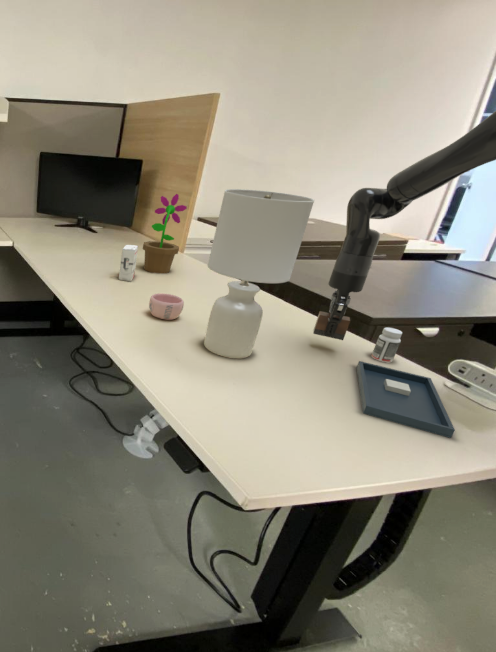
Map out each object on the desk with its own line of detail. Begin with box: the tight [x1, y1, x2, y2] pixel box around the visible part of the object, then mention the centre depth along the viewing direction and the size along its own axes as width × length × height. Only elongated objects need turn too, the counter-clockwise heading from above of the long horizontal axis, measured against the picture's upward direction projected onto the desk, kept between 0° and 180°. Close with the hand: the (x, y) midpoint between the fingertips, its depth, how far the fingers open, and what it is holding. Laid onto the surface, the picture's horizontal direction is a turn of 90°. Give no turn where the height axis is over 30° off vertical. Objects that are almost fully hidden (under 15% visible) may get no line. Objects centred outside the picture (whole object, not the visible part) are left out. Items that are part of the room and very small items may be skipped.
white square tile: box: [384, 379, 411, 396], centre depth 107 cm, size 4×4×1 cm
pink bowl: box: [148, 292, 185, 320], centre depth 141 cm, size 12×10×6 cm
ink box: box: [118, 244, 139, 283], centre depth 175 cm, size 9×5×12 cm, turn 160°
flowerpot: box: [142, 193, 188, 274], centre depth 185 cm, size 14×14×30 cm
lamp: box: [203, 188, 315, 359], centre depth 114 cm, size 19×19×39 cm
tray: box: [355, 360, 456, 439], centre depth 104 cm, size 26×15×2 cm, turn 150°
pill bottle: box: [371, 327, 403, 364], centre depth 122 cm, size 5×5×8 cm
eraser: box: [312, 310, 351, 341], centre depth 124 cm, size 7×4×6 cm, turn 60°
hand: (328, 332), depth 125 cm, fingers closed on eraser, 3 cm apart
